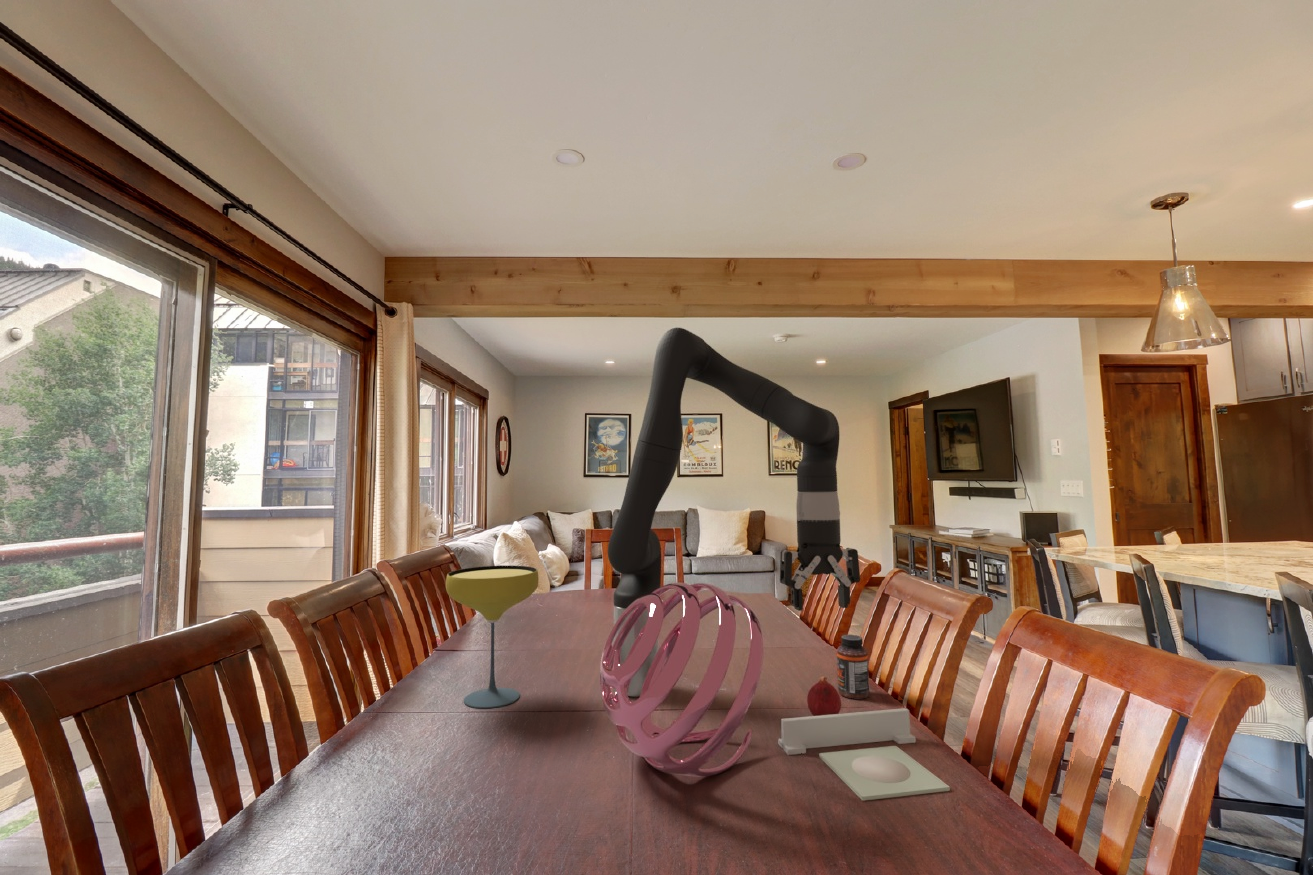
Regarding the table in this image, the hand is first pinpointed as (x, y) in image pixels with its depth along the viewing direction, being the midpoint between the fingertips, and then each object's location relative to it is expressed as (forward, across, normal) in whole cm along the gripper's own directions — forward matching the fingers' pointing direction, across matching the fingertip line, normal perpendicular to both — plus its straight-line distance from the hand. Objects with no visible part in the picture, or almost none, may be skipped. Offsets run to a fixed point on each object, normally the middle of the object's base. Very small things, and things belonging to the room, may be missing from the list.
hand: (820, 608), depth 106 cm
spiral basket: (+20, +28, +8) cm, 35 cm away
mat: (+20, 0, +18) cm, 27 cm away
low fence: (+20, 0, +8) cm, 21 cm away
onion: (+20, 0, 0) cm, 20 cm away
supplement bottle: (+20, -12, -12) cm, 26 cm away
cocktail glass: (+20, +59, -25) cm, 67 cm away
